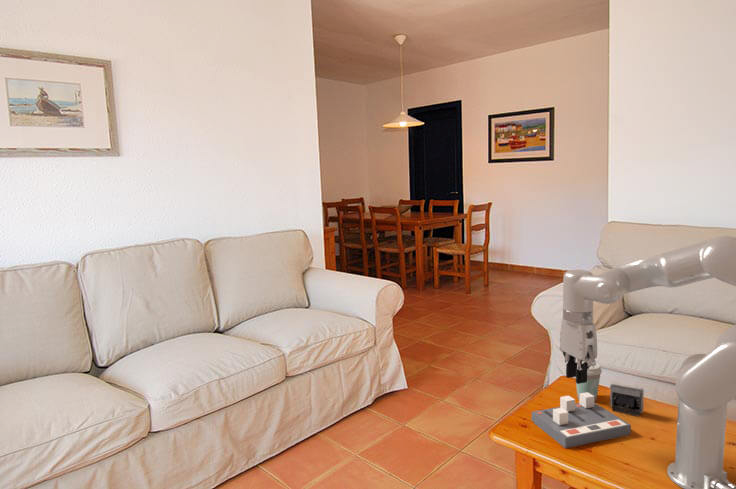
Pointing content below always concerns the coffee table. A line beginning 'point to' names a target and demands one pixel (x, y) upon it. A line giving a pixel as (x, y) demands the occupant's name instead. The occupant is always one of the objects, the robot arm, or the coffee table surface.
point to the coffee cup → (590, 381)
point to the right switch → (586, 400)
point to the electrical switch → (626, 399)
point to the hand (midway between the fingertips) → (576, 379)
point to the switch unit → (582, 425)
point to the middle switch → (567, 403)
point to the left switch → (560, 416)
